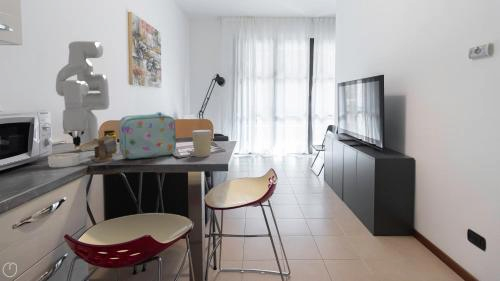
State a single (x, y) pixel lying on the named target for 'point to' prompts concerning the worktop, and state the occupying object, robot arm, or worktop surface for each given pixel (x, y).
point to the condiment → (112, 133)
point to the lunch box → (147, 136)
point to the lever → (107, 141)
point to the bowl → (64, 160)
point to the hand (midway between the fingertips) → (77, 145)
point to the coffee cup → (202, 142)
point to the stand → (101, 153)
